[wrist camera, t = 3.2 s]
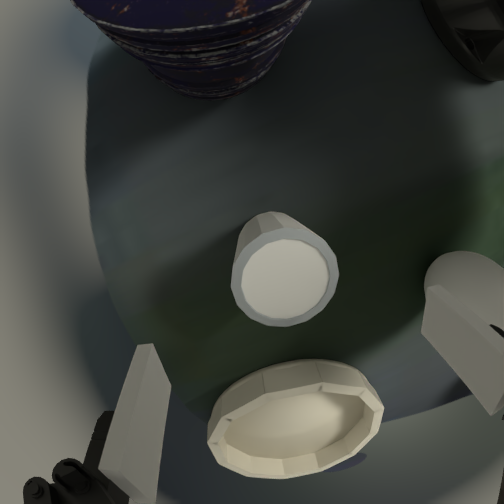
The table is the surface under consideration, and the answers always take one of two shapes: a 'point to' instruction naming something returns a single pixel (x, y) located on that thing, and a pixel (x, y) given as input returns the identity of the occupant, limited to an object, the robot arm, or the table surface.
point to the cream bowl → (293, 419)
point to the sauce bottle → (471, 283)
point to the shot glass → (282, 271)
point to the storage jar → (199, 39)
